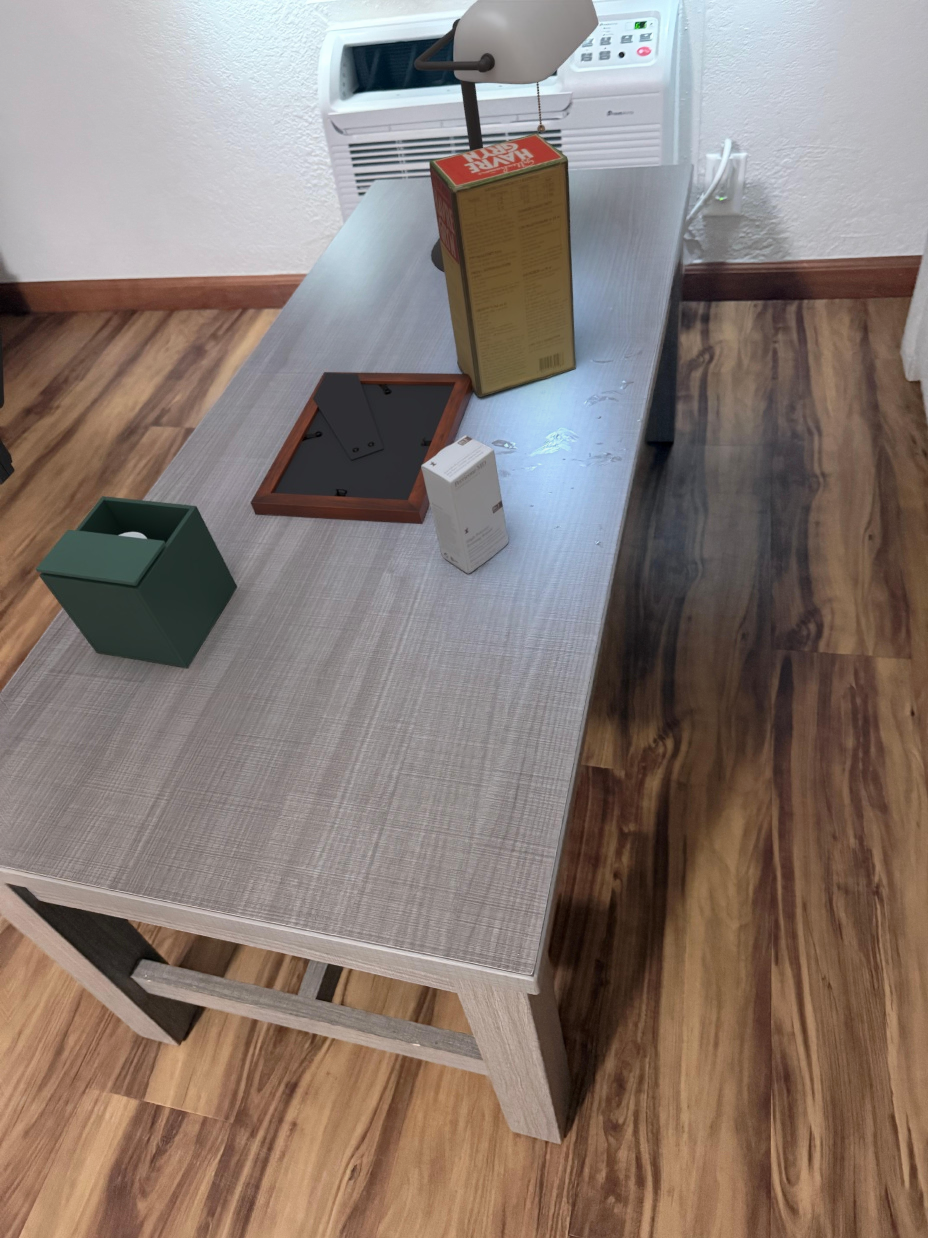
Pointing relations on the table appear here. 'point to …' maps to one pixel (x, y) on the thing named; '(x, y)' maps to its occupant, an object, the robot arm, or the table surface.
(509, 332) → the food packaging
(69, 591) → the green open box
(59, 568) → the flap
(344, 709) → the table surface
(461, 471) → the cosmetic box
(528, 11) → the lamp
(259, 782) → the table surface
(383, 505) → the picture frame
